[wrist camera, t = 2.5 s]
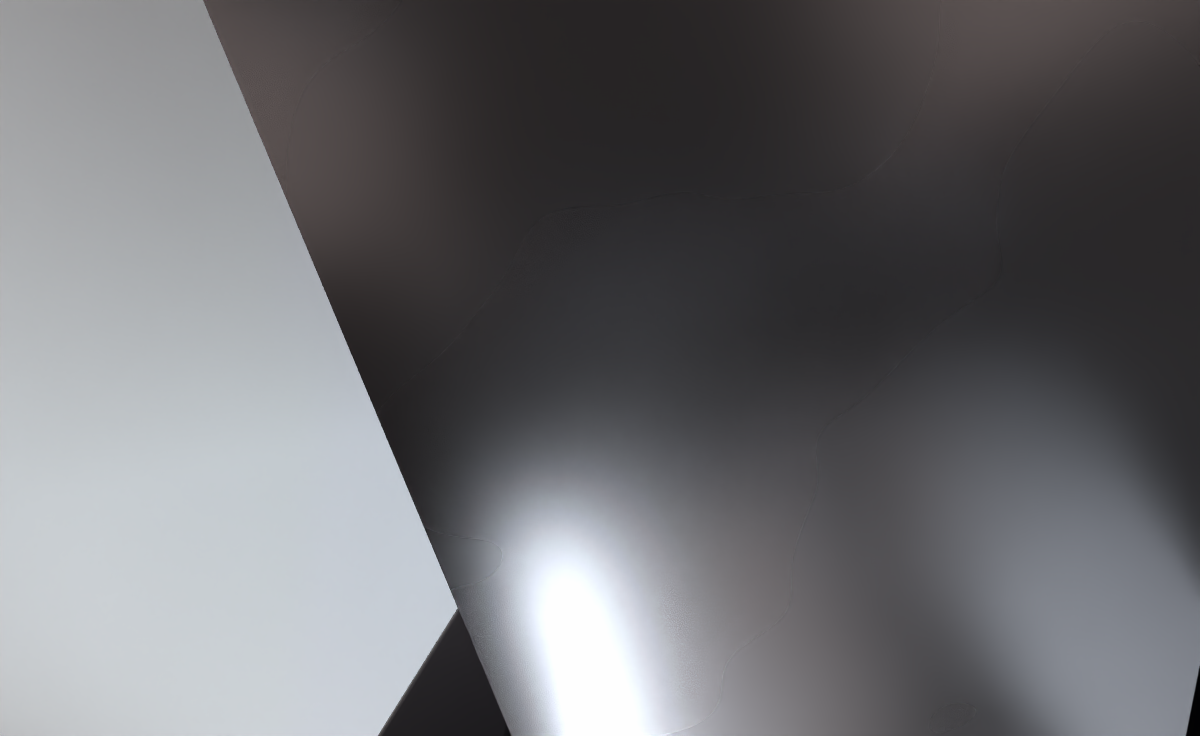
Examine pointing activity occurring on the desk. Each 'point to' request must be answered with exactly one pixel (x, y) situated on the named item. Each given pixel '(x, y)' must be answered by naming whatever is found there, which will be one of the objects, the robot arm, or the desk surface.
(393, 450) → the grey long block
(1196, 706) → the robot arm
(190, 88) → the desk surface
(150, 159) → the desk surface
